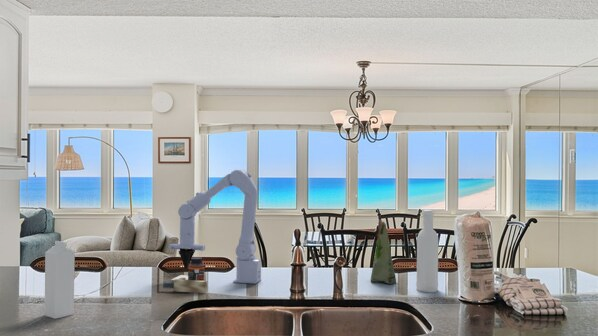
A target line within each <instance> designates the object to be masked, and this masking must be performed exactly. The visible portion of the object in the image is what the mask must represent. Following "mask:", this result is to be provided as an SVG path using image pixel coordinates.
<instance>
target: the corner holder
mask: <svg viewBox="0 0 598 336" xmlns="http://www.w3.org/2000/svg"><path fill="white" fill-rule="evenodd" d="M173 292H179V293H180V292H182V293H198V294H206V293H207V292H208V281H207V280H204V281H198V280H185V278H180V279H175V280H174V281H173Z"/></svg>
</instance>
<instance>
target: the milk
mask: <svg viewBox="0 0 598 336" xmlns="http://www.w3.org/2000/svg"><path fill="white" fill-rule="evenodd" d="M66 246H67V245H66V241H60V240H55V241H54V245H53V246H52V247H50V248H49V249H47V250H46V251H45V252H44V255H45V257H44V262H45V263H44V272H45V273H44V304H43V305H44V309H43V310H44V312H43V313H44V316H46V317H48V318H52V319H55V320H56V319H60V318H64V317H69V316H73V315H74V313H75V312H74V311H75V310H74V308H75V306H74V304H75V256H76V255H75V253H76V252H75V251H74V250H71V249H69V248H68V247H66Z"/></svg>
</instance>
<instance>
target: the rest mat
mask: <svg viewBox="0 0 598 336" xmlns="http://www.w3.org/2000/svg"><path fill="white" fill-rule="evenodd" d="M180 278H185V280H188V274H187V275H186V274H185V275H184V274H180V275H178V276H176V277H173V278H172V279H170V281H173V282H174V280H175V279H180Z"/></svg>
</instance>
